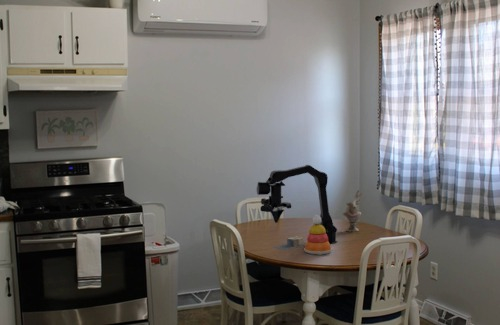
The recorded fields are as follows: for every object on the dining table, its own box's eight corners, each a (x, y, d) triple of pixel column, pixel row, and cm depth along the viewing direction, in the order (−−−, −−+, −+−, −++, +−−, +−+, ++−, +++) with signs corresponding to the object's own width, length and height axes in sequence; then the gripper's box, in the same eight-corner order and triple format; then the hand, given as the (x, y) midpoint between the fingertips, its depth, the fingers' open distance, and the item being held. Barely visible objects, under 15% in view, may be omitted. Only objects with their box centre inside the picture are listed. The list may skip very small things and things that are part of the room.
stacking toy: (337, 252, 283) (337, 214, 282) (321, 257, 273) (321, 218, 271) (314, 247, 293) (314, 211, 291) (298, 252, 282) (298, 215, 280)
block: (293, 246, 294) (303, 244, 300) (293, 240, 294) (303, 237, 300) (287, 245, 298) (296, 242, 304) (287, 238, 298) (296, 236, 303)
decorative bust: (354, 232, 324) (354, 190, 326) (340, 231, 335) (340, 190, 337) (368, 232, 330) (367, 190, 332) (354, 231, 341) (353, 190, 343)
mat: (310, 244, 300) (310, 244, 300) (285, 250, 286) (285, 250, 286) (296, 241, 307) (296, 241, 307) (271, 247, 294) (271, 247, 294)
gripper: (277, 191, 309) (277, 218, 310) (253, 194, 296) (253, 223, 297) (292, 193, 301) (291, 221, 302) (267, 196, 288) (268, 225, 289)
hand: (276, 222), depth 298 cm, fingers closed
